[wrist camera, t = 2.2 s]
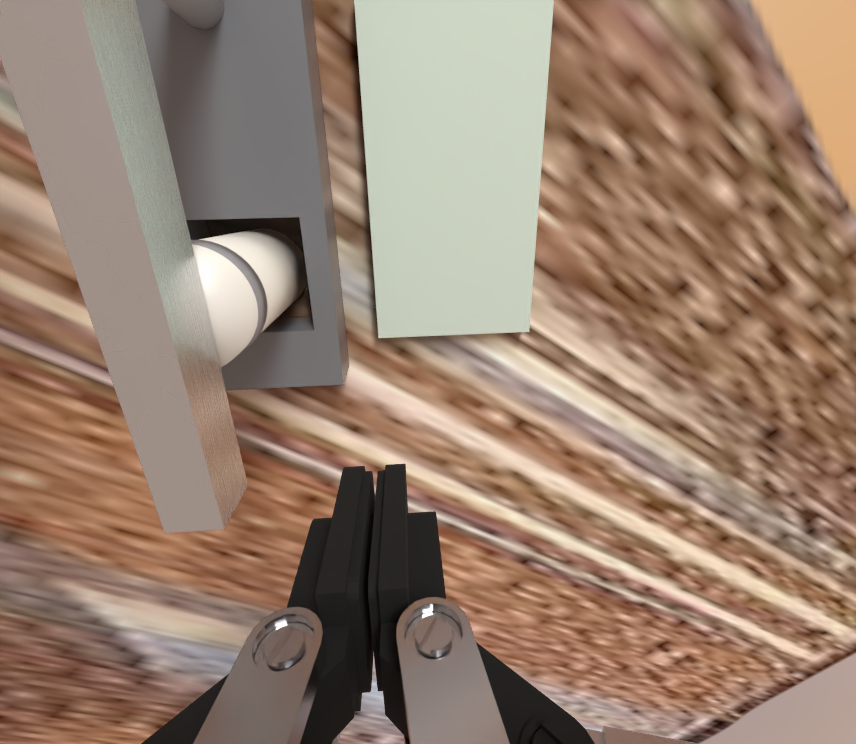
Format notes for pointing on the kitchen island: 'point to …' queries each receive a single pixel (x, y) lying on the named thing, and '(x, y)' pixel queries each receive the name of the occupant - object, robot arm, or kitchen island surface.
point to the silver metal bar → (128, 242)
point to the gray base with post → (254, 157)
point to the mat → (453, 159)
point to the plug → (247, 284)
